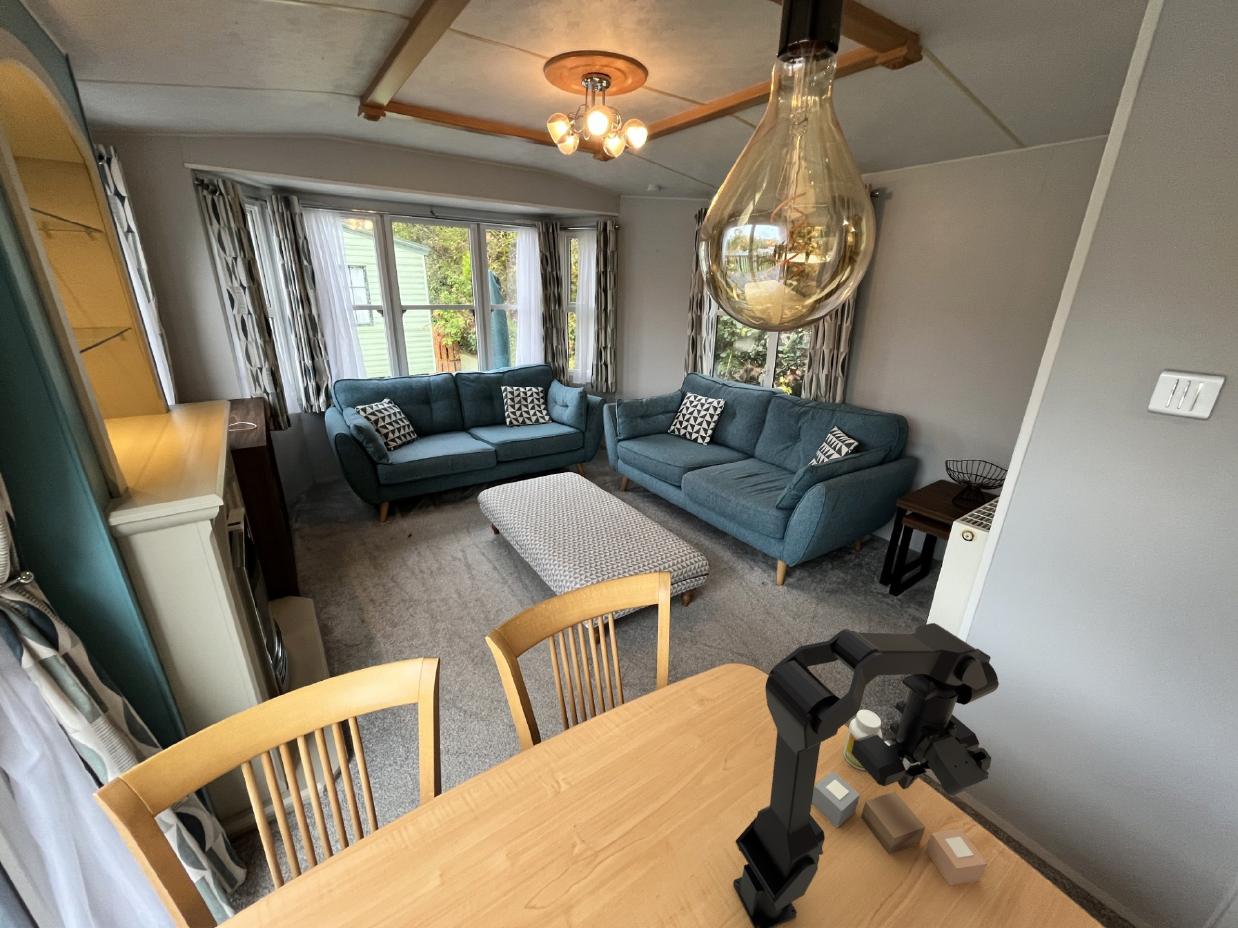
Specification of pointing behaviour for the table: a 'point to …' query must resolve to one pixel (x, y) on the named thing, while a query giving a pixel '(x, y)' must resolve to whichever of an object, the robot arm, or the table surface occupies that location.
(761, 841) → the robot arm
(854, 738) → the supplement bottle
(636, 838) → the table surface
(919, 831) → the walnut block
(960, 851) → the tan cream-patch box
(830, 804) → the grey cream-patch block
